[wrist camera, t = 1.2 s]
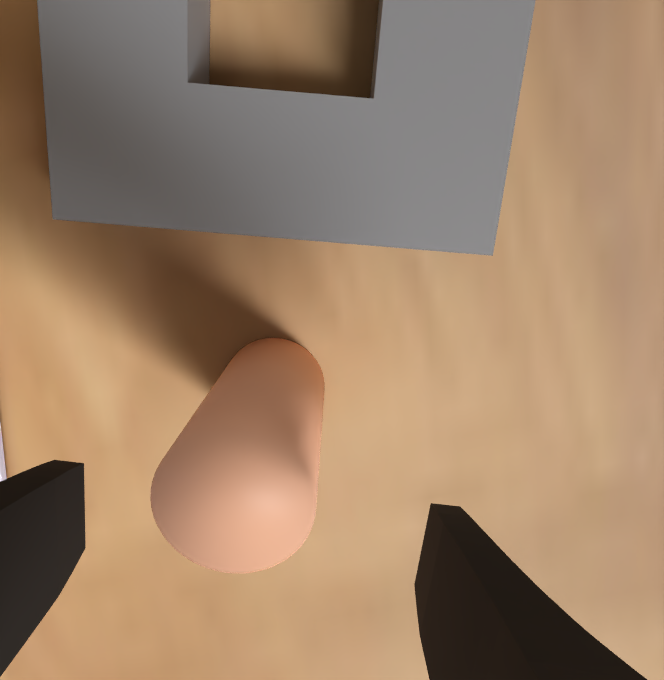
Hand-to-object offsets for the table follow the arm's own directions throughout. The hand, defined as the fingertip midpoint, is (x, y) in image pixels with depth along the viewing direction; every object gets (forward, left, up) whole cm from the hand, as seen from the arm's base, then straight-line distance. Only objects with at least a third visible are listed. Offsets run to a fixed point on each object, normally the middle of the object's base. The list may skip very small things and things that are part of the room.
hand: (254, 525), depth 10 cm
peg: (-1, -1, -10) cm, 10 cm away
